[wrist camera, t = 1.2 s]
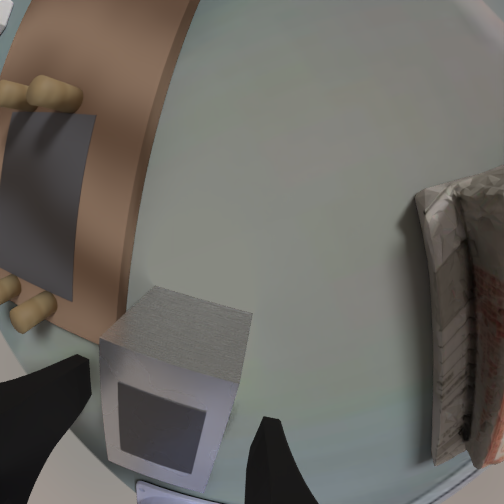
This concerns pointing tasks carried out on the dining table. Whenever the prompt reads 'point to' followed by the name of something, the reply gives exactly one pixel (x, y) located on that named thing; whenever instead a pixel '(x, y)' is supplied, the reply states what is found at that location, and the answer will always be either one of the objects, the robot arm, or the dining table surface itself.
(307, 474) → the dining table surface
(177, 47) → the walnut tray
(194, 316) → the block
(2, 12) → the salt shaker
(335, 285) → the dining table surface
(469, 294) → the packaged product
